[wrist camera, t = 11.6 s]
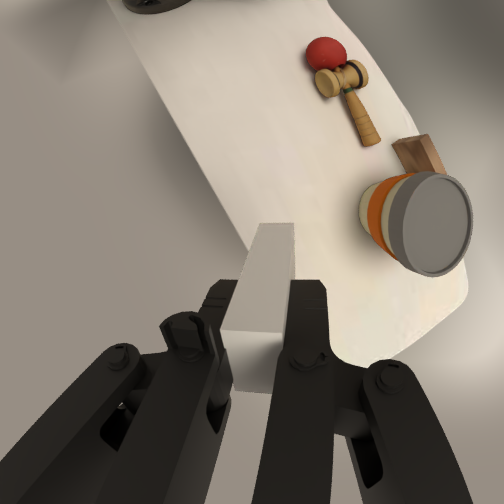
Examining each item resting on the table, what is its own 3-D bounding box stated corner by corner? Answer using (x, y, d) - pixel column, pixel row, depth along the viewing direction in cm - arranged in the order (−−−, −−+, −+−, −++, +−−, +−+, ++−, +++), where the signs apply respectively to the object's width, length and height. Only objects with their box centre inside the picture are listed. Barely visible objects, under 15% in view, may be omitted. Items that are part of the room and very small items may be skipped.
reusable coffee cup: (357, 258, 42) (406, 295, 27) (339, 181, 39) (390, 184, 24) (417, 236, 41) (476, 259, 27) (404, 164, 38) (466, 163, 24)
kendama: (384, 132, 38) (334, 36, 32) (401, 135, 33) (344, 24, 26) (345, 150, 40) (292, 52, 33) (358, 155, 35) (296, 41, 28)
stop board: (391, 144, 37) (419, 139, 30) (399, 139, 37) (427, 133, 29) (430, 225, 41) (459, 235, 33) (437, 219, 41) (466, 227, 33)
